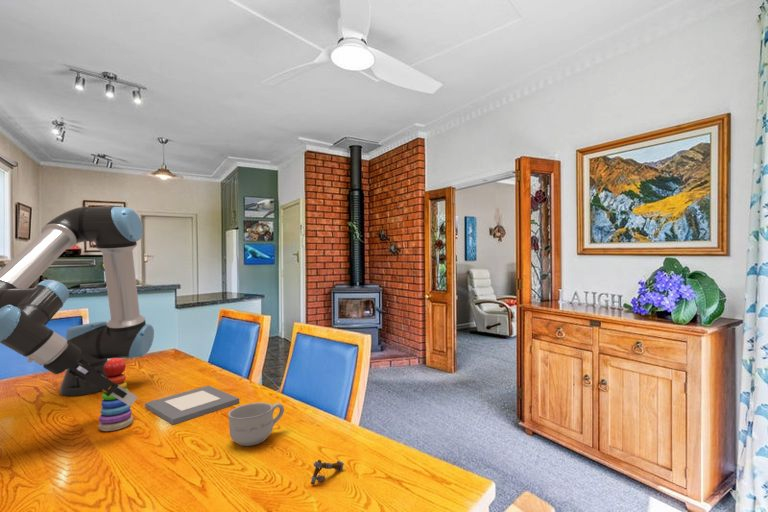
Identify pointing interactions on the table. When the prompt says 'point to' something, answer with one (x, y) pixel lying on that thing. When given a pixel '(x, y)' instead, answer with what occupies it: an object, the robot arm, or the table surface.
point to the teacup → (253, 422)
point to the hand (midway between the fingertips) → (125, 395)
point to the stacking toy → (114, 399)
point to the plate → (191, 404)
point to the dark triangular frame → (320, 465)
